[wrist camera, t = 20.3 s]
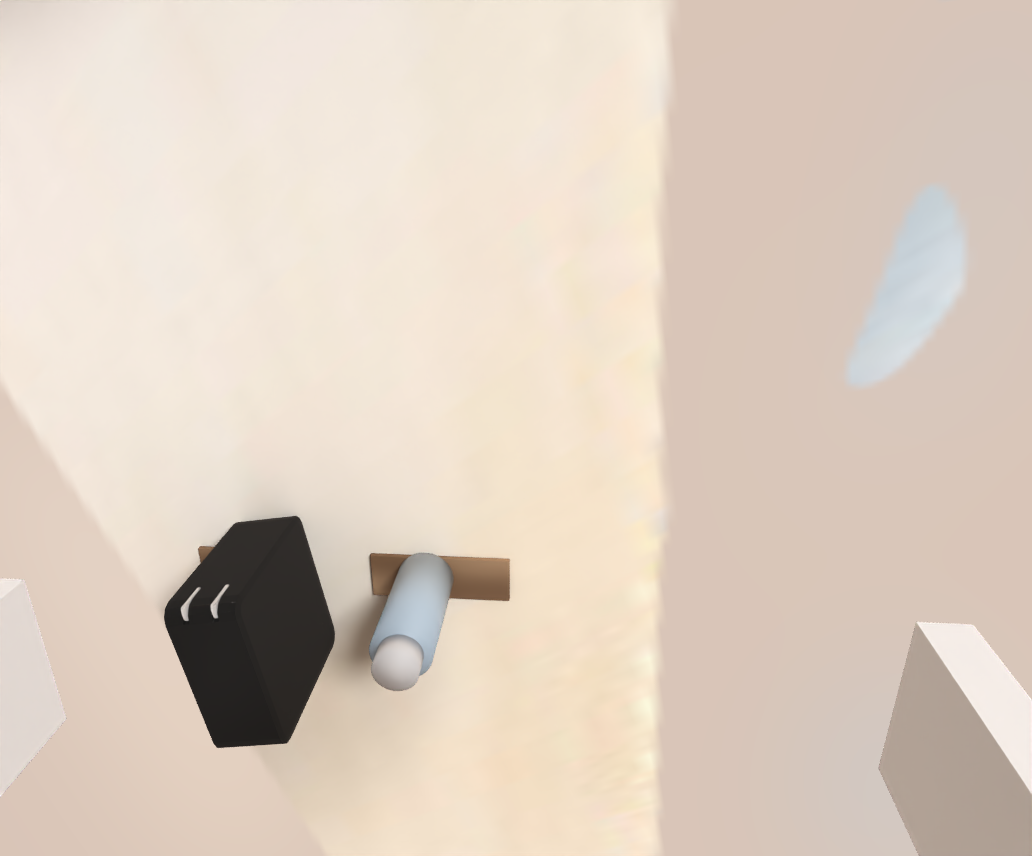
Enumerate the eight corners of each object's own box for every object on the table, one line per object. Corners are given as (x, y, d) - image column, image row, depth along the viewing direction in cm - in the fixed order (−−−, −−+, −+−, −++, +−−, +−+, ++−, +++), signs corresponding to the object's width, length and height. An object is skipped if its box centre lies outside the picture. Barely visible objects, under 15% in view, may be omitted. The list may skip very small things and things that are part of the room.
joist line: (200, 546, 49) (198, 548, 49) (509, 558, 48) (509, 561, 47) (207, 584, 50) (205, 587, 50) (509, 597, 49) (509, 600, 48)
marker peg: (397, 551, 48) (359, 642, 39) (453, 554, 47) (426, 646, 39) (400, 598, 49) (364, 695, 41) (454, 601, 49) (429, 700, 40)
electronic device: (281, 642, 52) (216, 755, 42) (238, 517, 48) (157, 612, 39) (338, 637, 51) (286, 751, 42) (299, 510, 47) (233, 605, 38)
